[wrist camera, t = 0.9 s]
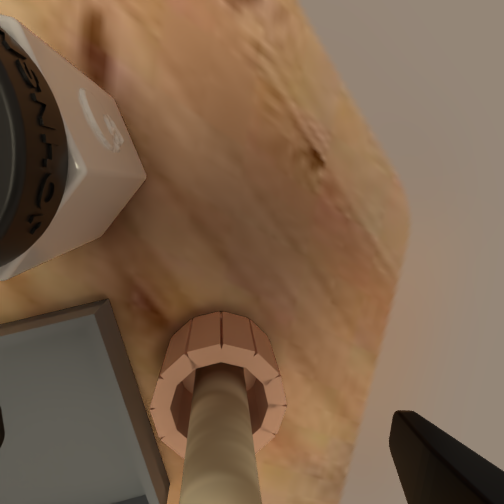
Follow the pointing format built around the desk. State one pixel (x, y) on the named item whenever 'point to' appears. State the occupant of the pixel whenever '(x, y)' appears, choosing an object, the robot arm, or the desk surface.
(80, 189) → the jar
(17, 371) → the tray
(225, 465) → the dowel
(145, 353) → the desk surface
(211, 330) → the cup
